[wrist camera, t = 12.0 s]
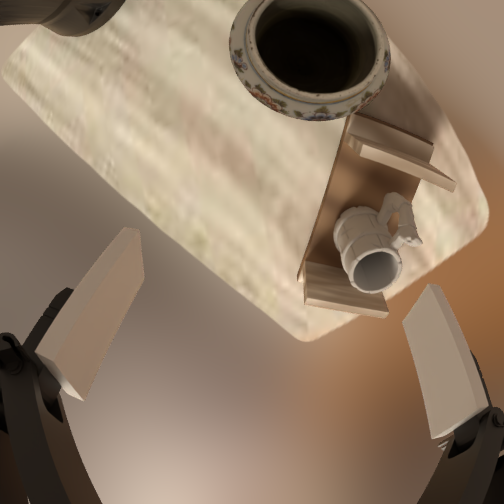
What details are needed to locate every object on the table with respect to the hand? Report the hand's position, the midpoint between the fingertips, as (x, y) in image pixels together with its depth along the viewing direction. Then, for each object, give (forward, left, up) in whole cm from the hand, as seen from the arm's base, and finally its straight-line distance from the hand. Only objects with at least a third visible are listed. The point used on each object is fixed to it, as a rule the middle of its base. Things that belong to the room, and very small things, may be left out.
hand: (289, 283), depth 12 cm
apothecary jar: (-11, -1, -26) cm, 28 cm away
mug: (+6, +13, -25) cm, 28 cm away
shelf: (+6, +12, -26) cm, 29 cm away
